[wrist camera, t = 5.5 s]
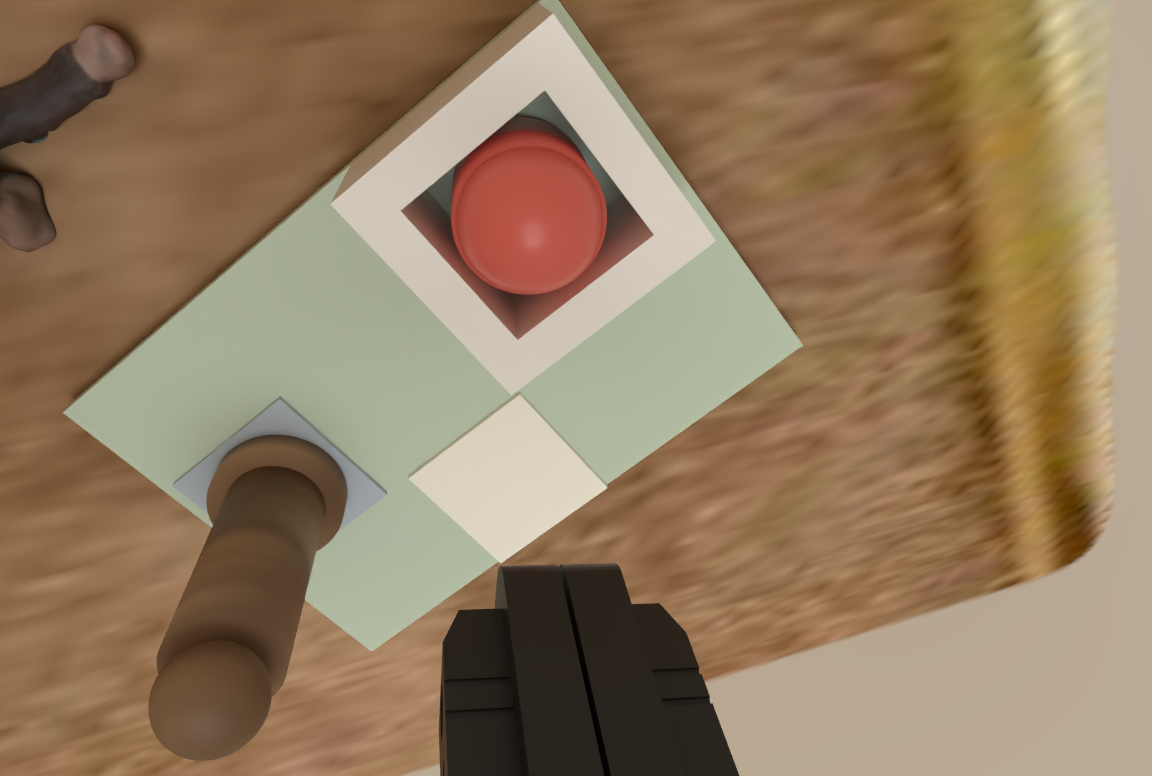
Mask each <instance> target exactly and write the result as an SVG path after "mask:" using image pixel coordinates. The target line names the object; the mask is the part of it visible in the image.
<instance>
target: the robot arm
mask: <svg viewBox="0 0 1152 776" xmlns="http://www.w3.org/2000/svg"><path fill="white" fill-rule="evenodd" d="M709 697H710V696H709V693H708V690H707V688H706V685H705V682H704V680H703V677H702V674H699V666H698V663H697V661H696V658H695V655H694V653H693V650H692V647H691V645H690V642H689V639H688V636H687V634H686V632H685V631H684V630H683V629H682V628H681V627H680V625H679V624H678V623H677V622H676V621H675V620H674V619H673V618H672V617H671V616H670V615H669V613H668V612H667V611H666V610H665V609H664V608H663V607H662V606H661V605H660V604H659V603H656V604H631V601H630V598H629V594H628V591H627V588H626V585H625V582H624V578H623V575H622V572H621V569H620V567H619V566H618V565H617V564H575V565H560V566H559V567H558V566H557V565H524V566H500V567H499V570H498V576H497V587H496V600H495V609H474V610H459V611H458V613H457V615H456V617H455V619H454V621H453V623H452V625H451V627H450V629H449V631H448V633H447V635H446V637H445V639H444V641H443V650H442V672H441V694H440V717H439V748H440V776H739V774H738V771H737V768H736V766H735V763H734V761H733V758H732V755H731V752H730V749H729V747H728V744H727V741H726V739H725V736H724V733H723V731H722V728H721V725H720V723H719V720H718V717H717V715H716V712H715V709H714V706H713V704H710V700H709Z"/></svg>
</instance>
